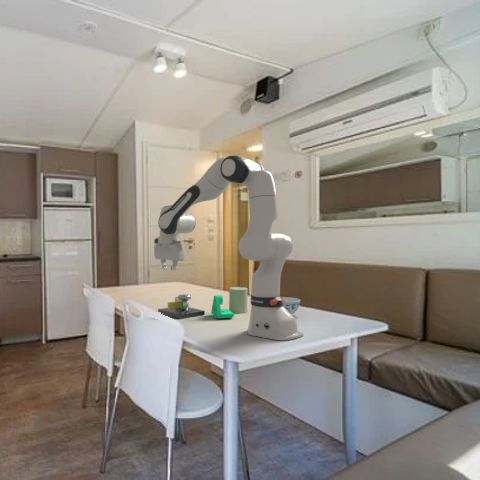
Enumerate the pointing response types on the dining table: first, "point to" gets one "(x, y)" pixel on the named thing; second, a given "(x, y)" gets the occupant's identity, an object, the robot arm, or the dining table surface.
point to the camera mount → (217, 310)
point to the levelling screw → (180, 303)
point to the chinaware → (291, 304)
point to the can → (238, 300)
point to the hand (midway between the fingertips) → (168, 269)
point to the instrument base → (181, 312)
